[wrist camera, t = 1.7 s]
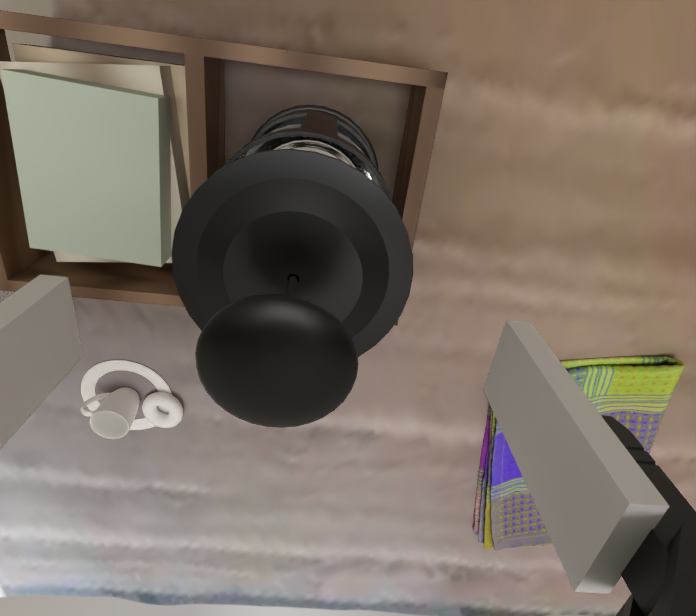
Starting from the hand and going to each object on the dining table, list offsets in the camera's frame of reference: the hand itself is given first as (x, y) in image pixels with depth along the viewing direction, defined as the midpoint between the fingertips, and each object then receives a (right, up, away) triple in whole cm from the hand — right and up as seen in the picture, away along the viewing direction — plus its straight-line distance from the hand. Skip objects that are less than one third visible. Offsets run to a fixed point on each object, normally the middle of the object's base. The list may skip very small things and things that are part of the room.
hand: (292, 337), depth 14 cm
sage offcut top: (-13, +9, +14) cm, 22 cm away
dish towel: (+24, -14, +32) cm, 43 cm away
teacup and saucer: (-18, -9, +28) cm, 35 cm away
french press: (-1, +10, +18) cm, 21 cm away
